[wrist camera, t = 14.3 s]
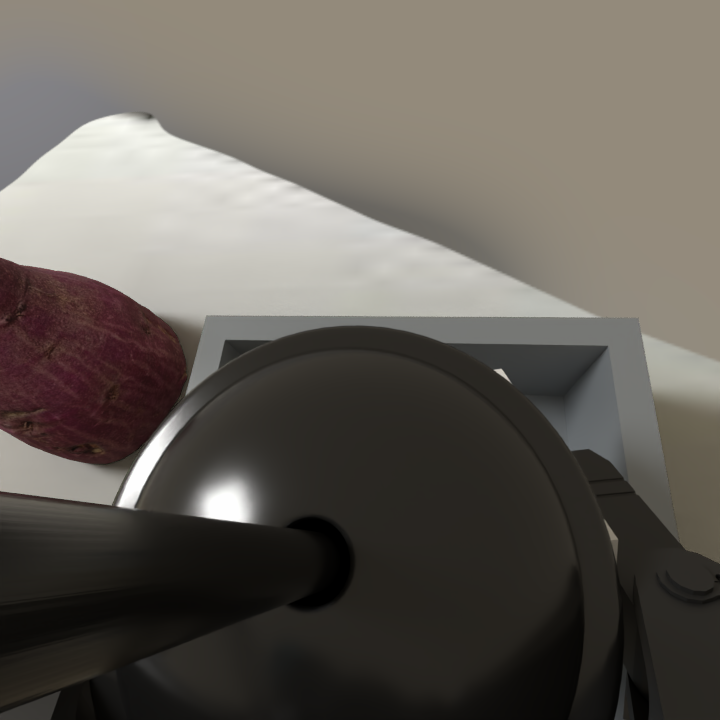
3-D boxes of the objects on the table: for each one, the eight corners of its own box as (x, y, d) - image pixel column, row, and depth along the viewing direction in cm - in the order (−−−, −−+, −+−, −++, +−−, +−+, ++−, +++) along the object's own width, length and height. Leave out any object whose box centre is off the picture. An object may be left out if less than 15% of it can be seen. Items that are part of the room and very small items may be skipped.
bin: (189, 748, 19) (66, 851, 13) (261, 372, 26) (206, 315, 19) (633, 837, 16) (770, 1035, 9) (580, 381, 23) (638, 317, 16)
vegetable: (217, 342, 31) (156, 159, 18) (163, 484, 26) (22, 372, 13) (73, 314, 31) (-96, 107, 18) (-10, 452, 26) (-334, 305, 13)
